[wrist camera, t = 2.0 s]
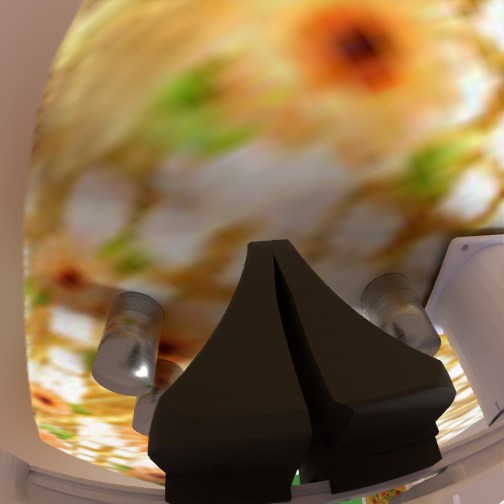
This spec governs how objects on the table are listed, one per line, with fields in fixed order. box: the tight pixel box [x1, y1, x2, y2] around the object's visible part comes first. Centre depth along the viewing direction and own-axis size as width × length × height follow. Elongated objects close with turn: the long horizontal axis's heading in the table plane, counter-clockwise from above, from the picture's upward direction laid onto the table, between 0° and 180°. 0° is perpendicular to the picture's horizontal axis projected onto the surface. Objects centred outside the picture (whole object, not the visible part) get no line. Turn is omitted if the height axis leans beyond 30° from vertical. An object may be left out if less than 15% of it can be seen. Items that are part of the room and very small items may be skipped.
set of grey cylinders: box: [92, 273, 441, 436], centre depth 17 cm, size 17×9×4 cm, turn 92°
